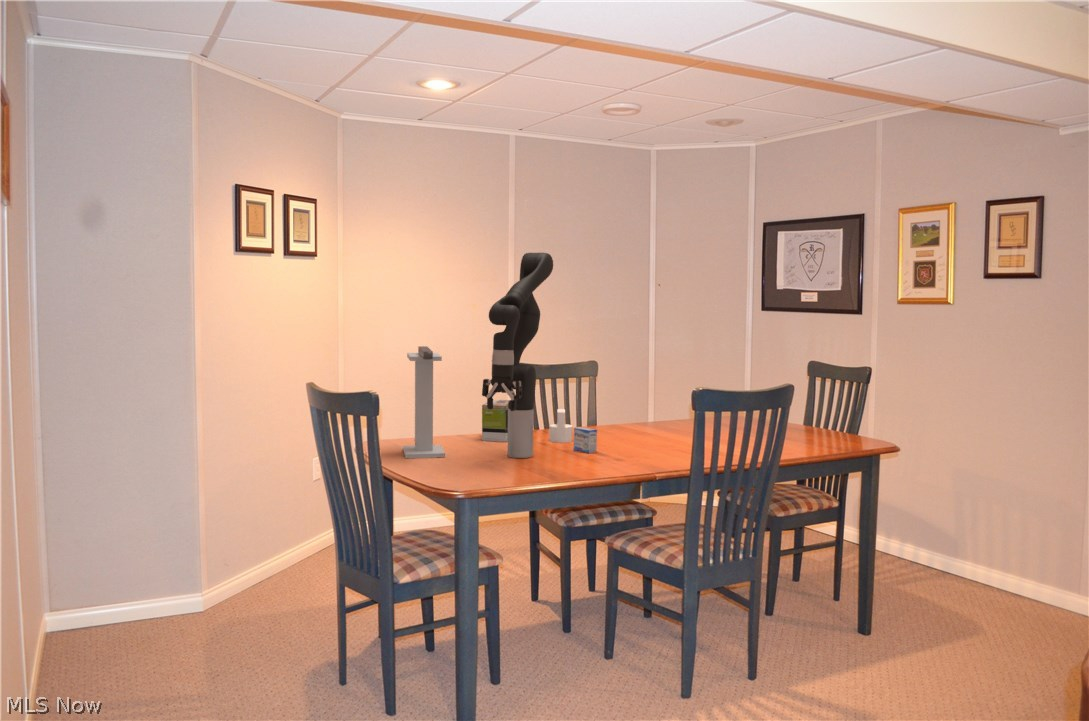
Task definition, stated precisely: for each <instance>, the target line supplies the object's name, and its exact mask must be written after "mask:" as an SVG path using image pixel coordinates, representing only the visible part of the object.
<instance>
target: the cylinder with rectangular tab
mask: <svg viewBox="0 0 1089 721" xmlns="http://www.w3.org/2000/svg"><path fill="white" fill-rule="evenodd" d="M556 414H557V417H556V420H557V422H556V423H554V424H553V423H552V424H550V425H549V435H548V436H549V437H548V438H549V442H551V443H559V444H563V443H564V444H567V443H571V442H572V441H573V425H571V424H567V423H566V409H564V408H557V413H556Z"/></svg>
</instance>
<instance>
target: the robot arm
mask: <svg viewBox="0 0 1089 721" xmlns="http://www.w3.org/2000/svg"><path fill="white" fill-rule="evenodd" d="M519 268H520V269H519V280H518V281H516V282H515V283H514V284H512V286H511V287H510V288H509V290H508V291H507V293H506V294H505V295H504V296H503V297H501V298H500V299H499V300H497V301H496V302H495V303H493V304H492V306H491V307H490V309H489V312H488V319H489V321H490V323H491V324H493V325H494V326H505V327H504V330H503V331H500V332H498V331H497V332H496V333H494V334H493V338H492V339H493V342H492V344H493V346H492V356H491V379H490V378H484V379H483V380H482V388H481V389H482V391H481V396H482V397H485V398H486V403H487V408H488V409H493V400H494V398H493V397H494V396H495V395H496V394H497V393H503V394H507V396H509V398H510V399H509V400H510V401H509V402H508V440H507V457H510V458H512V459H513V458H515V459H526V458H532V457H533V456H534V418H535V417H534V415H535V414H534V411H535V410H534V408H535V407H534V406H535V401H536V385H537V384H536V383H537V373H536V372H537V371H536V368H535V367H534V366H533V365H532V364H523V363H520V362H521V358H522V355H523V353H524V351H525V349H526V348H527V346H528V345H529V344H530V343H532V342H531V341H532V340H533V339H534V338H535V337H536V335H537V333H538V331H539V326H540V320H541V309H540V307H539V305H538V303H537V300H536V298H535V296H534V294H533V293H534V291H535V290H536V289H537V288H539V287H540V285H542V284H543V282H545V281H546V280H547V279H548V278H549V277H550V275H551V274H552V272H553V269H554V260H553V256H551V254H550V253H547V252H526V253H524V254H523V256H522V258H521V261H520V266H519ZM490 386H492V387H491V388H490ZM489 388H490V389H489Z"/></svg>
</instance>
